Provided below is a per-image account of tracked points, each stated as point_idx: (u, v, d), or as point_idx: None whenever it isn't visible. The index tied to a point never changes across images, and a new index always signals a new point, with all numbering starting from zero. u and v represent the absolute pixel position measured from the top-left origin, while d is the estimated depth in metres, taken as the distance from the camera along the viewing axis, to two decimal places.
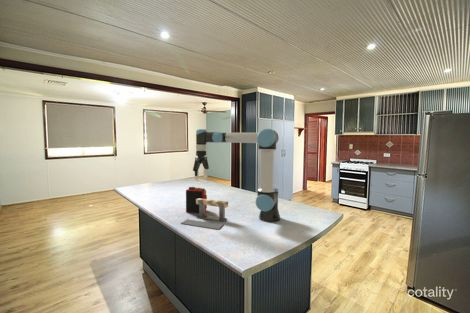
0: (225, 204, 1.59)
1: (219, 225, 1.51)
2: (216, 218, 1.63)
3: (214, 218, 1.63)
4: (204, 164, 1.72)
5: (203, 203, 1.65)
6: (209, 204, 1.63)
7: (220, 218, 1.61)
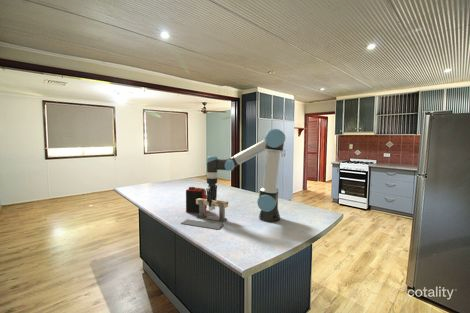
0: (225, 204, 1.59)
1: (219, 225, 1.51)
2: (216, 218, 1.63)
3: (214, 218, 1.63)
4: (213, 193, 1.65)
5: (203, 203, 1.65)
6: None
7: (220, 218, 1.61)
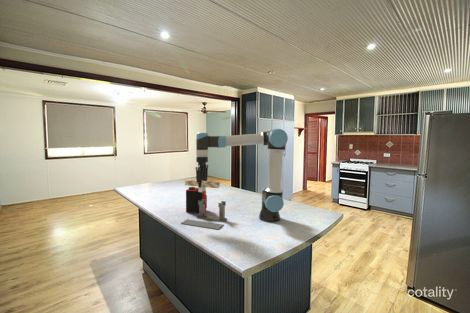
0: (216, 184, 1.46)
1: (219, 225, 1.51)
2: (216, 218, 1.63)
3: (214, 218, 1.63)
4: (203, 173, 1.52)
5: (192, 184, 1.52)
6: None
7: (220, 218, 1.61)
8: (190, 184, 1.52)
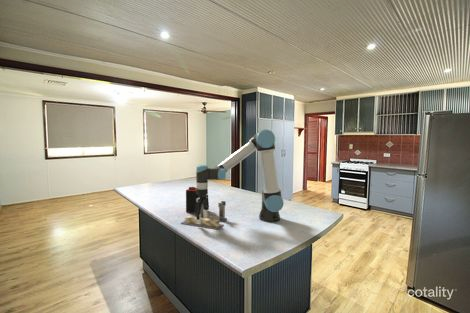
0: (216, 223, 1.48)
1: (219, 225, 1.51)
2: (216, 218, 1.63)
3: (214, 218, 1.63)
4: (204, 204, 1.55)
5: (193, 221, 1.54)
6: None
7: (220, 218, 1.61)
8: (190, 221, 1.54)
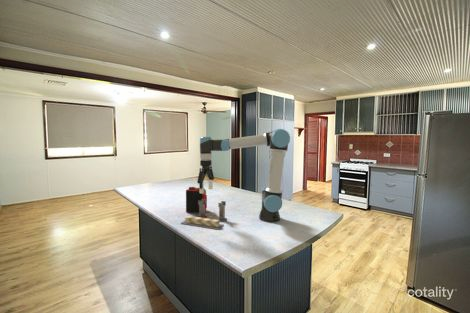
0: (216, 223, 1.48)
1: (219, 225, 1.51)
2: (216, 218, 1.63)
3: (214, 218, 1.63)
4: (209, 175, 1.57)
5: (193, 221, 1.54)
6: (199, 223, 1.52)
7: (220, 218, 1.61)
8: (190, 221, 1.54)
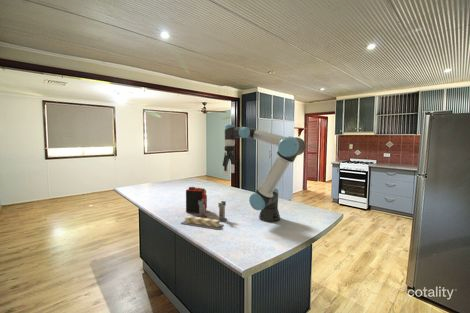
0: (216, 223, 1.48)
1: (219, 225, 1.51)
2: (216, 218, 1.63)
3: (214, 218, 1.63)
4: (232, 159, 1.73)
5: (193, 221, 1.54)
6: (199, 223, 1.52)
7: (220, 218, 1.61)
8: (190, 221, 1.54)
